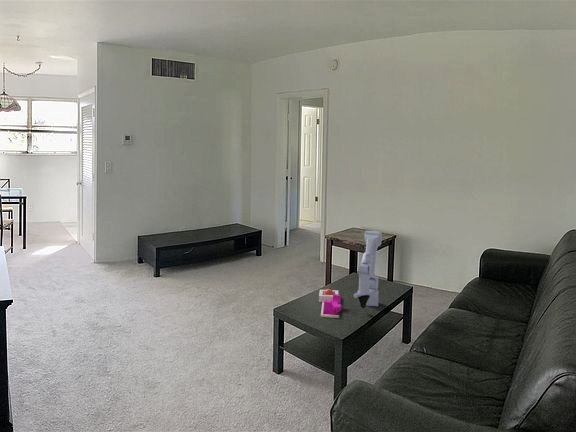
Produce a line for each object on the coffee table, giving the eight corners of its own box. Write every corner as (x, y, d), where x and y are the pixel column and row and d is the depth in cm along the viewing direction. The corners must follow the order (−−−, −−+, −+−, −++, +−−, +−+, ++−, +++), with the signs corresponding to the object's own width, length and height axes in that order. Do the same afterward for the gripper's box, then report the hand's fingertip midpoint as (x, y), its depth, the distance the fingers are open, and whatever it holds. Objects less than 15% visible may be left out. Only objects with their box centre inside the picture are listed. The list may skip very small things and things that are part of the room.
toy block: (333, 316, 262) (334, 303, 261) (323, 314, 265) (323, 301, 264) (344, 307, 275) (344, 295, 274) (334, 305, 278) (334, 293, 277)
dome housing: (338, 296, 293) (338, 290, 293) (338, 303, 282) (338, 296, 281) (319, 295, 295) (319, 289, 294) (318, 302, 283) (318, 295, 283)
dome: (334, 296, 291) (334, 287, 290) (334, 300, 284) (334, 291, 283) (323, 295, 292) (323, 287, 291) (322, 299, 285) (323, 290, 284)
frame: (339, 305, 279) (339, 303, 279) (338, 317, 259) (339, 315, 259) (322, 304, 280) (322, 302, 280) (320, 316, 260) (320, 314, 260)
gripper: (367, 280, 272) (366, 302, 275) (349, 285, 263) (349, 308, 266) (376, 283, 267) (375, 306, 269) (359, 288, 258) (358, 311, 260)
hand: (363, 307), depth 267 cm, fingers closed
